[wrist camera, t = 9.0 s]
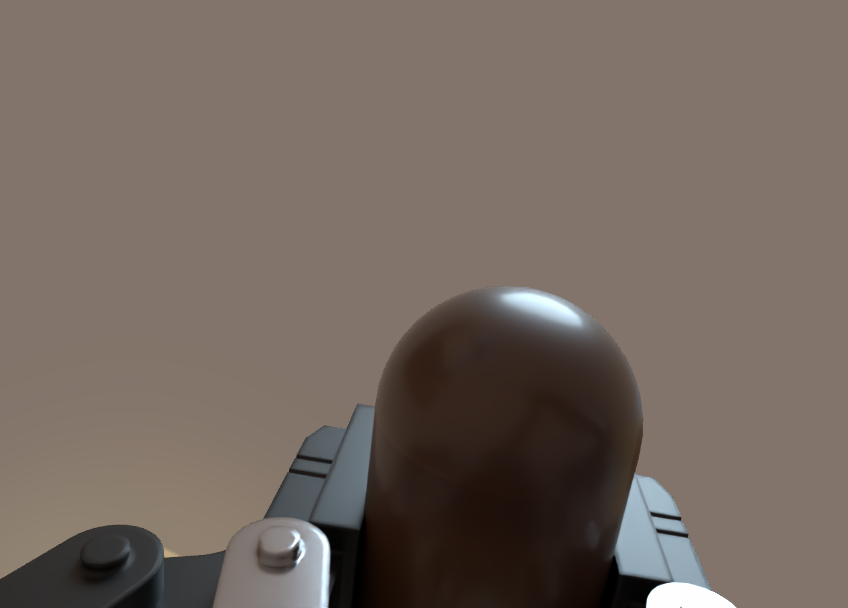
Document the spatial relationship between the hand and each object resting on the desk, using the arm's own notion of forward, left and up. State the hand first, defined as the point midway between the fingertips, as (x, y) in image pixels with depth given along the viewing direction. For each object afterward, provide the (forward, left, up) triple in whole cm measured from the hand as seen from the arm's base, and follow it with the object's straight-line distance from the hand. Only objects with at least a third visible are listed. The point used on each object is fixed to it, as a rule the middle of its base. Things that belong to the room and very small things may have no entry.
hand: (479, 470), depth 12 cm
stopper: (+2, +2, -9) cm, 9 cm away
